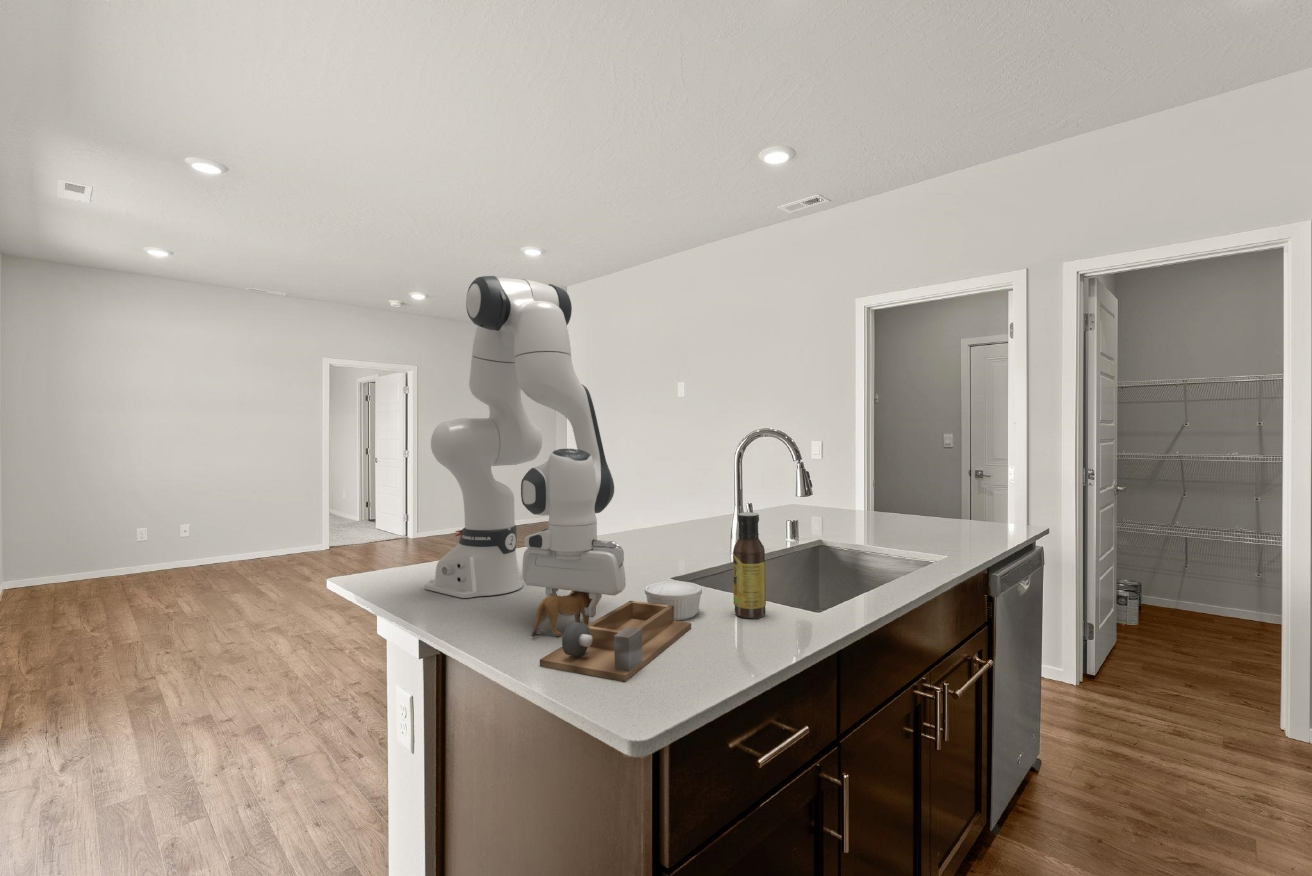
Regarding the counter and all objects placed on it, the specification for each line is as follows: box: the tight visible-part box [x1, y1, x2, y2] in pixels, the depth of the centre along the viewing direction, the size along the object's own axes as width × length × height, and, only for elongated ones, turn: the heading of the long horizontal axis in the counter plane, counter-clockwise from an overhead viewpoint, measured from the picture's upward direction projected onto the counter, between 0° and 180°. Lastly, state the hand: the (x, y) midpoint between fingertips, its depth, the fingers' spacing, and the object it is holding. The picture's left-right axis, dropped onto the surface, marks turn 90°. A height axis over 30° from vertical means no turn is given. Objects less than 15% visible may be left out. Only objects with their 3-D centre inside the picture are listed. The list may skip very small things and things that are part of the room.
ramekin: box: [644, 580, 703, 621], centre depth 123 cm, size 11×11×5 cm
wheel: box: [561, 621, 592, 657], centre depth 97 cm, size 3×5×5 cm
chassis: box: [539, 600, 692, 683], centre depth 105 cm, size 15×26×6 cm, turn 155°
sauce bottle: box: [732, 511, 767, 619], centre depth 121 cm, size 6×6×20 cm
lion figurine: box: [530, 591, 592, 637], centre depth 113 cm, size 15×5×9 cm, turn 132°
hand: (573, 613), depth 114 cm, fingers closed on lion figurine, 6 cm apart
